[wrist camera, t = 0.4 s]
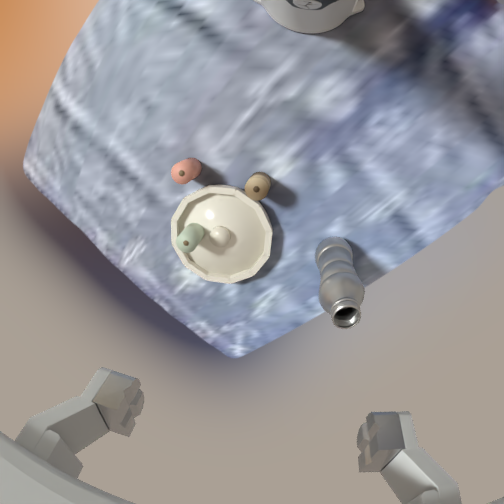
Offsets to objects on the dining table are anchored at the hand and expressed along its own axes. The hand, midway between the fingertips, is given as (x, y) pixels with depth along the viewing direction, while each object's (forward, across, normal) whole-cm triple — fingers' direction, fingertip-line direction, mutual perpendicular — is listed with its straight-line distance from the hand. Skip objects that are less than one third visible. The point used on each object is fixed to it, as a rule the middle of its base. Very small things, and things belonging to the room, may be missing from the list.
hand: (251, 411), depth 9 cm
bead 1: (+44, +16, +1) cm, 47 cm away
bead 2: (+43, +15, +12) cm, 48 cm away
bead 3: (+44, +4, +2) cm, 44 cm away
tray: (+44, +10, +12) cm, 47 cm away
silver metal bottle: (+44, -10, +13) cm, 47 cm away
